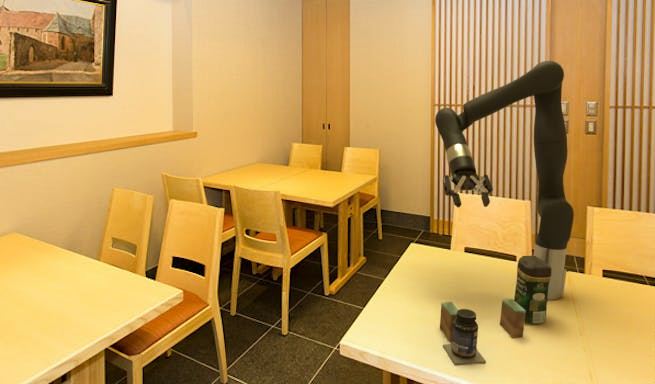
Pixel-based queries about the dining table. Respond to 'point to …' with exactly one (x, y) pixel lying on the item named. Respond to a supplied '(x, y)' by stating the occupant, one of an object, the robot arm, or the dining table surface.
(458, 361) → the slate pad
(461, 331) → the pill bottle
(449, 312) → the walnut channel
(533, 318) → the coffee jar
